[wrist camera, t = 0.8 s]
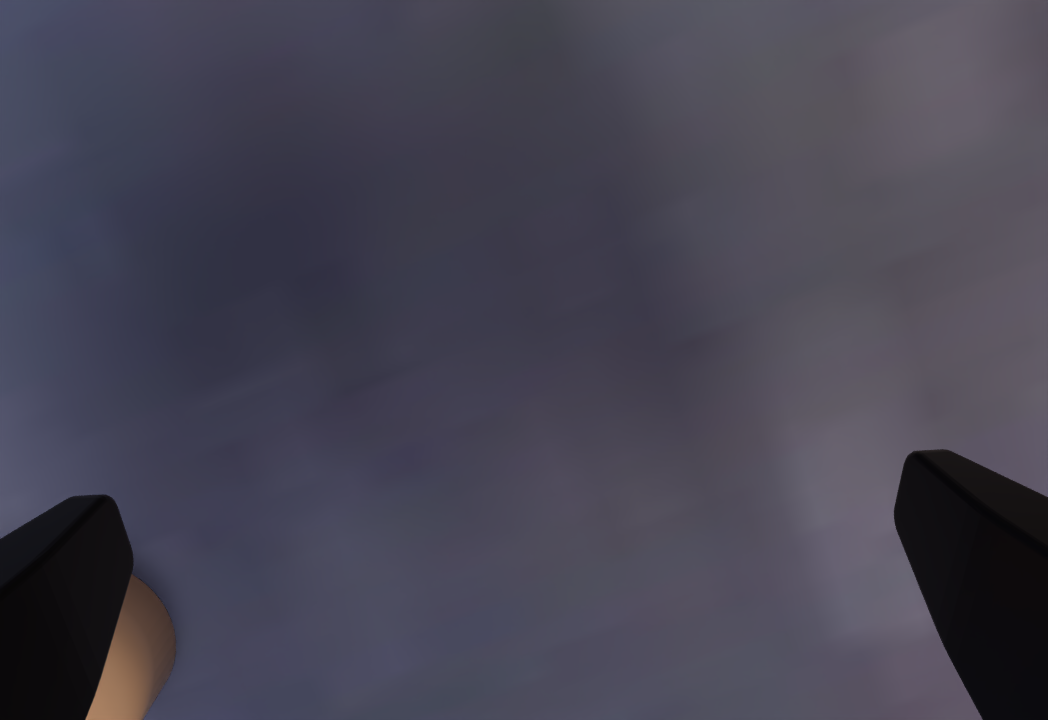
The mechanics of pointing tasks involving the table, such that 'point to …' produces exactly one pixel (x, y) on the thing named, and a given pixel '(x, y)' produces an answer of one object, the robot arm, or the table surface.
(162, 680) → the orange-brown short cylinder
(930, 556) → the robot arm
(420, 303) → the table surface
